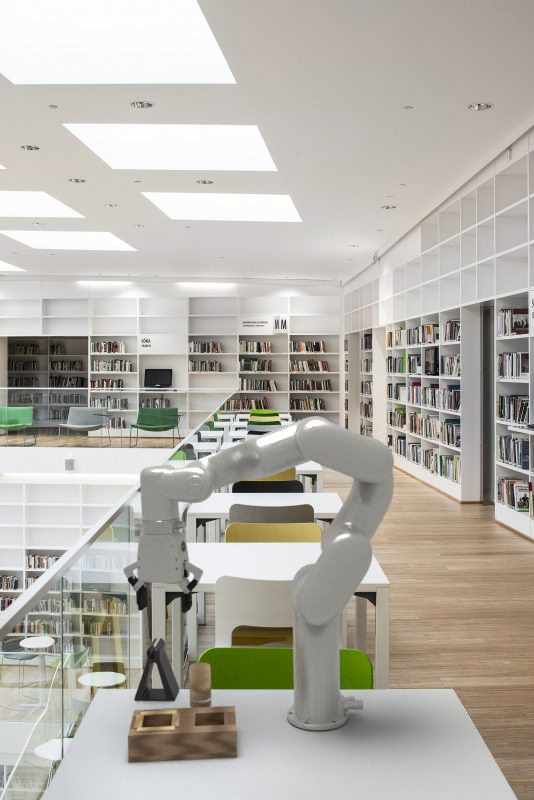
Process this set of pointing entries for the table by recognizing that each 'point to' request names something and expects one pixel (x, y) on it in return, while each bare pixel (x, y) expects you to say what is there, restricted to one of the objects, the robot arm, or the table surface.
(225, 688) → the table surface
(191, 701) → the peg
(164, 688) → the phone stand
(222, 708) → the board
